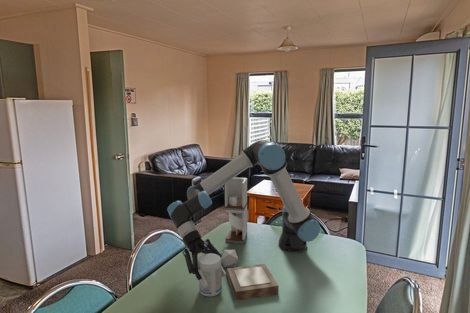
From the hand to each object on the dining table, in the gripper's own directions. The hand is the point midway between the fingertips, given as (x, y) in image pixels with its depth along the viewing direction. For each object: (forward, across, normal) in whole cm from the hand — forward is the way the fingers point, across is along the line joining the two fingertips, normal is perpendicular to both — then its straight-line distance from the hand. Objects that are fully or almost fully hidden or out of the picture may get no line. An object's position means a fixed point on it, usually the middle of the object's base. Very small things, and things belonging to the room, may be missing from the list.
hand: (215, 280), depth 128 cm
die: (-3, -20, -12) cm, 24 cm away
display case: (-16, -45, -25) cm, 54 cm away
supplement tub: (+2, 0, -6) cm, 7 cm away
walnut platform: (+9, -15, +1) cm, 17 cm away
